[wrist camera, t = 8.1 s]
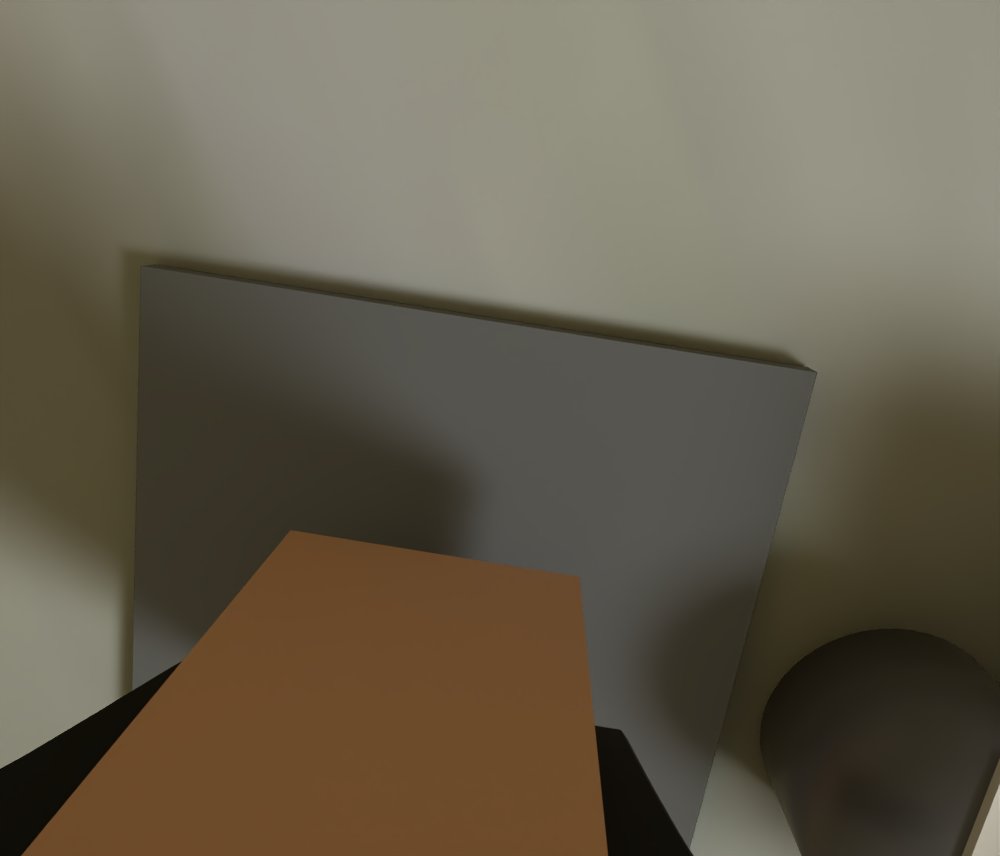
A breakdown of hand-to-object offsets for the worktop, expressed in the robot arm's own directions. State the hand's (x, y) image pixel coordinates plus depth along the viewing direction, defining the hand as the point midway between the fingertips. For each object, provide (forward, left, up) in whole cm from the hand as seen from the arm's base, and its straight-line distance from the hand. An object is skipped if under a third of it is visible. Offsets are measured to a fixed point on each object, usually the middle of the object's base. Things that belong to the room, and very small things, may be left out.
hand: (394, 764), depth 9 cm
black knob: (-1, -8, -4) cm, 9 cm away
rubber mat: (0, 0, -4) cm, 4 cm away
